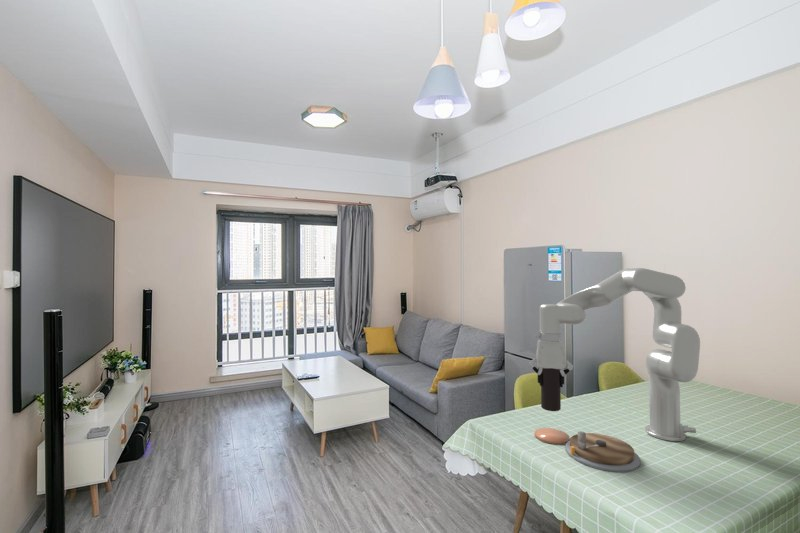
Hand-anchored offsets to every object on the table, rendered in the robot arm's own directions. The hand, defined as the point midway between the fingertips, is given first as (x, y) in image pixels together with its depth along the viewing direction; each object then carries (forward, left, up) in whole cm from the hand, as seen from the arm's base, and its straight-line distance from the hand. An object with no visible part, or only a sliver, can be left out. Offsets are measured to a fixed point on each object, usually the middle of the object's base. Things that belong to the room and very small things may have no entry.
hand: (550, 385), depth 142 cm
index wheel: (-14, +11, -18) cm, 25 cm away
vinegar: (0, 0, -9) cm, 9 cm away
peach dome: (0, 0, -19) cm, 19 cm away
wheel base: (-14, +11, -19) cm, 26 cm away
